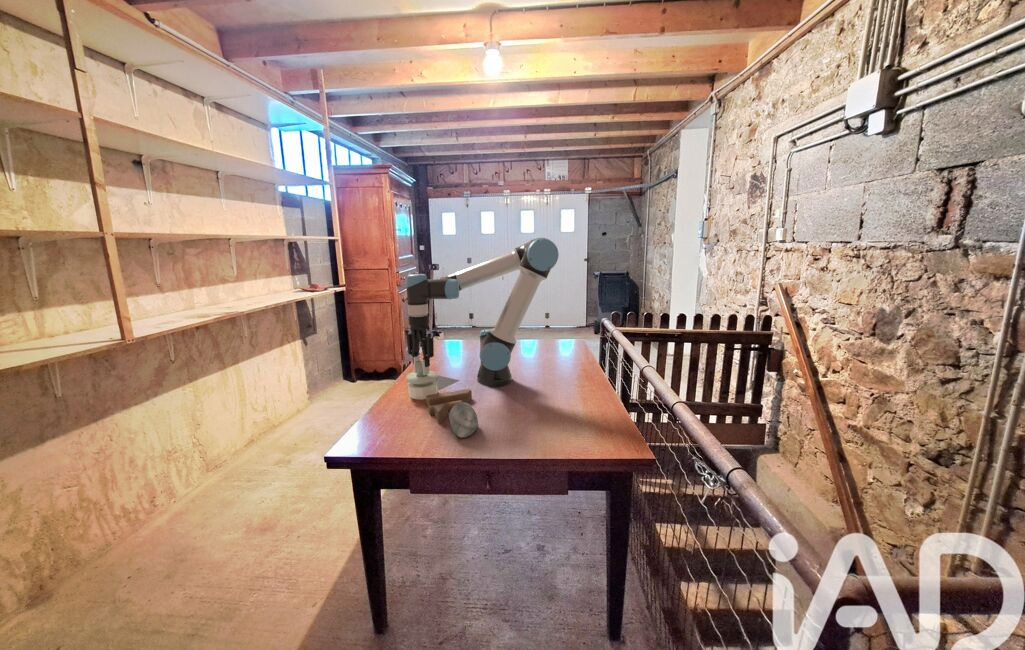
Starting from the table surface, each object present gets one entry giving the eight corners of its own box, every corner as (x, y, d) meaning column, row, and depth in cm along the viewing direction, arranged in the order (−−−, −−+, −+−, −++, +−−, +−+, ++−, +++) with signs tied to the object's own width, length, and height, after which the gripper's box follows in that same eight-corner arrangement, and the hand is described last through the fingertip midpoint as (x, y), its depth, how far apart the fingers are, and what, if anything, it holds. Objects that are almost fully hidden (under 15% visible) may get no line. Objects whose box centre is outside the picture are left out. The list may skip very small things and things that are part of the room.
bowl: (443, 393, 156) (442, 381, 155) (423, 402, 146) (422, 390, 145) (423, 388, 161) (422, 376, 160) (403, 396, 152) (402, 384, 151)
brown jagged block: (423, 393, 142) (469, 385, 150) (424, 407, 143) (469, 398, 151) (434, 410, 127) (485, 400, 135) (435, 425, 128) (486, 415, 136)
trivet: (459, 381, 169) (459, 380, 169) (439, 390, 158) (439, 389, 158) (437, 376, 176) (437, 375, 175) (416, 385, 165) (416, 384, 165)
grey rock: (444, 412, 130) (456, 390, 126) (470, 421, 133) (483, 400, 129) (441, 440, 118) (455, 417, 114) (469, 450, 120) (484, 427, 117)
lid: (444, 377, 154) (443, 360, 153) (422, 386, 144) (421, 368, 143) (422, 372, 161) (421, 356, 159) (400, 380, 151) (398, 363, 149)
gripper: (441, 315, 146) (444, 374, 151) (410, 311, 155) (413, 367, 160) (427, 318, 140) (431, 379, 144) (395, 314, 149) (399, 372, 153)
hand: (421, 373), depth 152 cm, fingers closed on lid, 4 cm apart
